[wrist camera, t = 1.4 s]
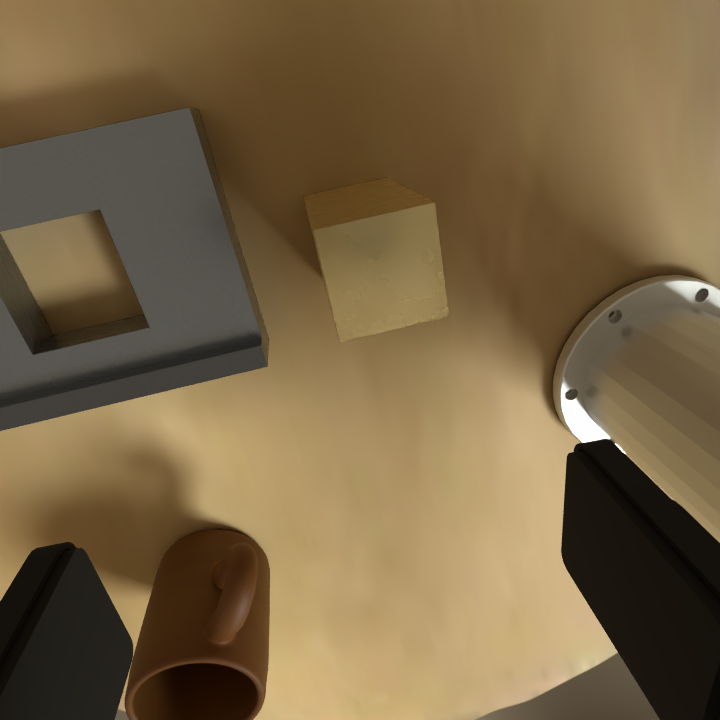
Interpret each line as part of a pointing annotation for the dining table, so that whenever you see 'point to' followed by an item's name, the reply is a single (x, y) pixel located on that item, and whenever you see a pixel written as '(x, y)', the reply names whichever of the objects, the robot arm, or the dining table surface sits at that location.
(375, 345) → the dining table surface
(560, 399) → the robot arm
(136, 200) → the jig
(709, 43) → the dining table surface
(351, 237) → the tan cardboard box
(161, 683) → the mug
